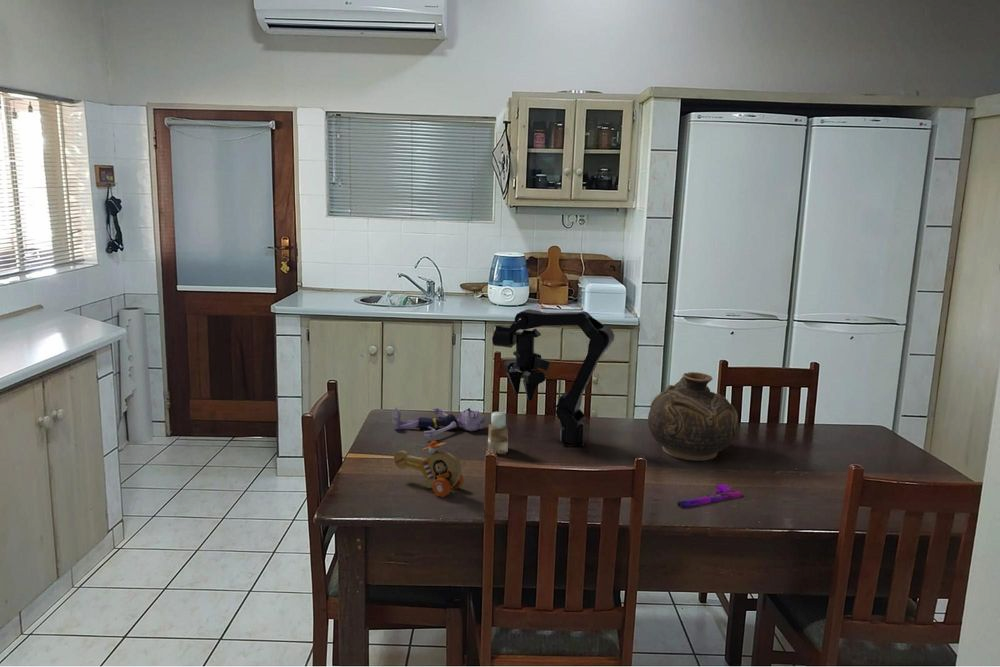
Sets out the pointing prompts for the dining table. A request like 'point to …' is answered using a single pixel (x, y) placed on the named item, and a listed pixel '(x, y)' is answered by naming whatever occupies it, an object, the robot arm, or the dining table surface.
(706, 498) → the handgun
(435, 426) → the toy
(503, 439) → the top block
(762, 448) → the dining table surface
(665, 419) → the vessel
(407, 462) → the toy helicopter
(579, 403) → the robot arm
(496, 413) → the grey rounded cylinder
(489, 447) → the base block
